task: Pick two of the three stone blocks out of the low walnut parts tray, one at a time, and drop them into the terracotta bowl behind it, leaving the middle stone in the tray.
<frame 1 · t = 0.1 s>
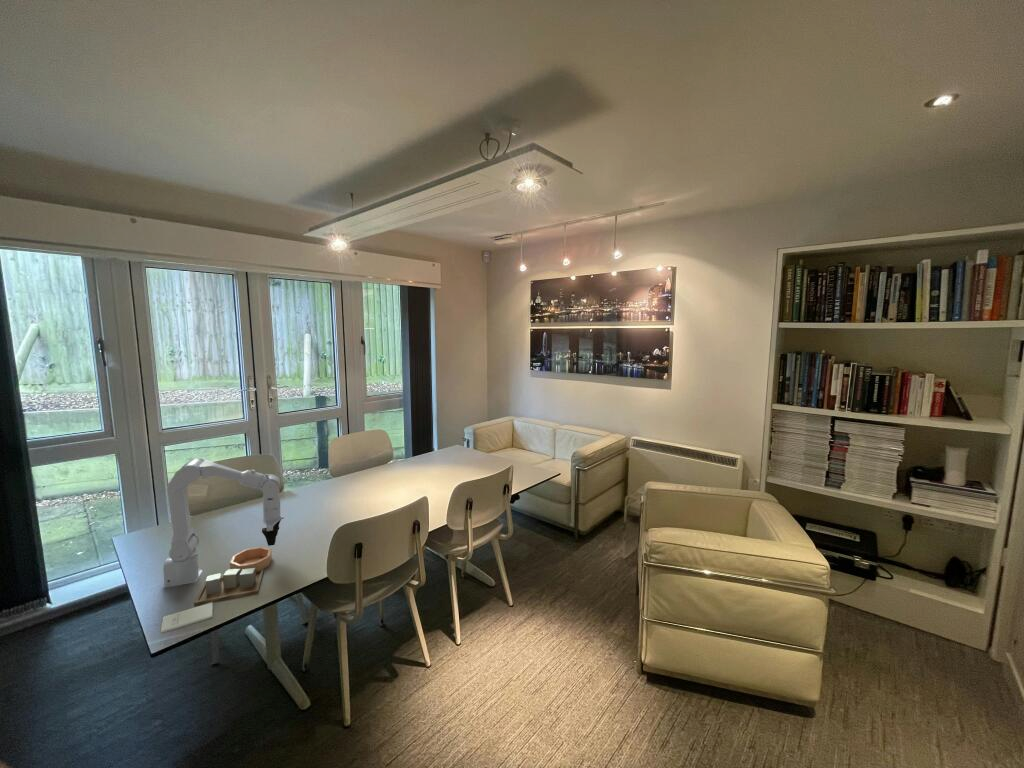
hand: (272, 540, 157), 10 cm above the table, fingers open, 7 cm apart
tray: (231, 588, 142), on the table
external hard drive: (188, 620, 127), on the table
stone b: (232, 584, 144), resting on tray
stone a: (214, 590, 140), resting on tray
stone c: (248, 584, 144), resting on tray
bowl: (251, 565, 157), on the table
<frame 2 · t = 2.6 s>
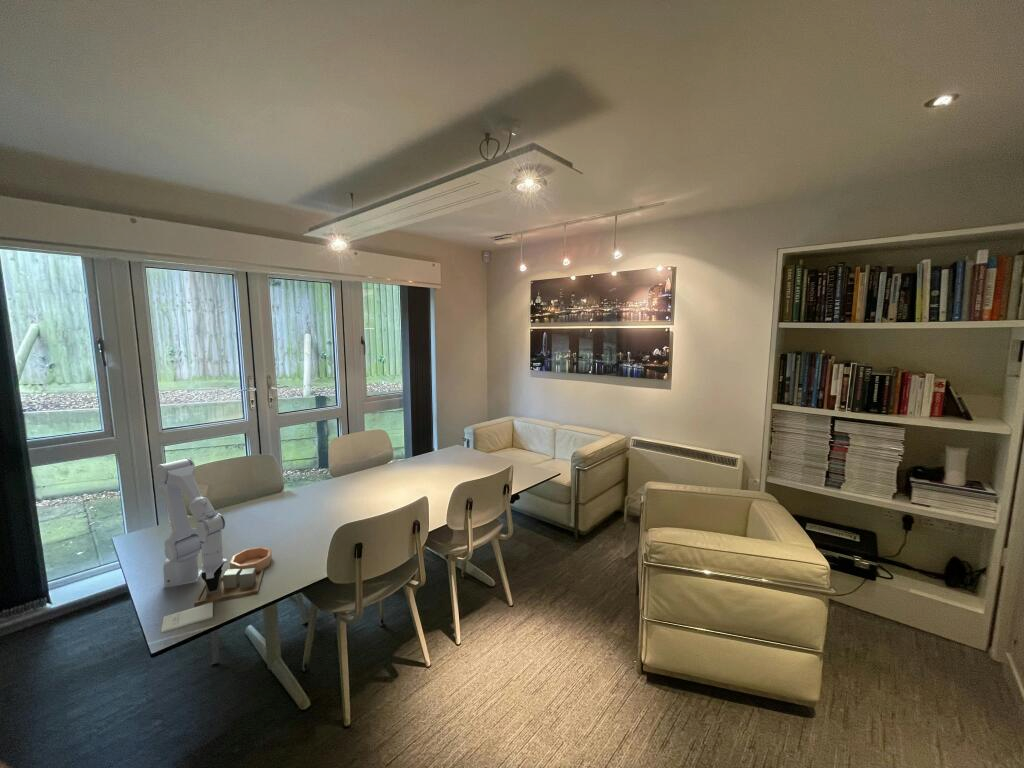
hand: (214, 587, 140), 2 cm above the table, fingers closed on stone a, 3 cm apart
stone a: (214, 590, 140), resting on tray, touching gripper
everything else where it was.
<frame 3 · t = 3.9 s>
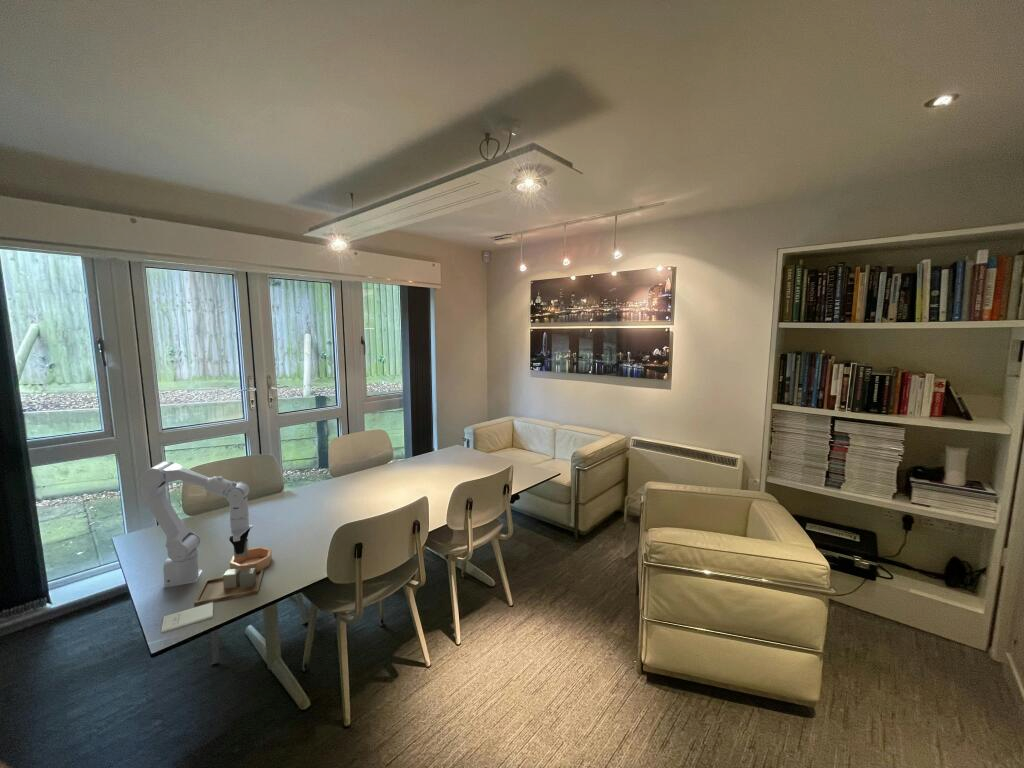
hand: (241, 550, 151), 9 cm above the table, fingers closed on stone a, 3 cm apart
stone a: (241, 554, 151), point 7 cm above the table, touching gripper
everything else where it was.
when the fingers open (5 cm above the table, at t = 5.5 s): stone a drops 3 cm, resting on bowl.
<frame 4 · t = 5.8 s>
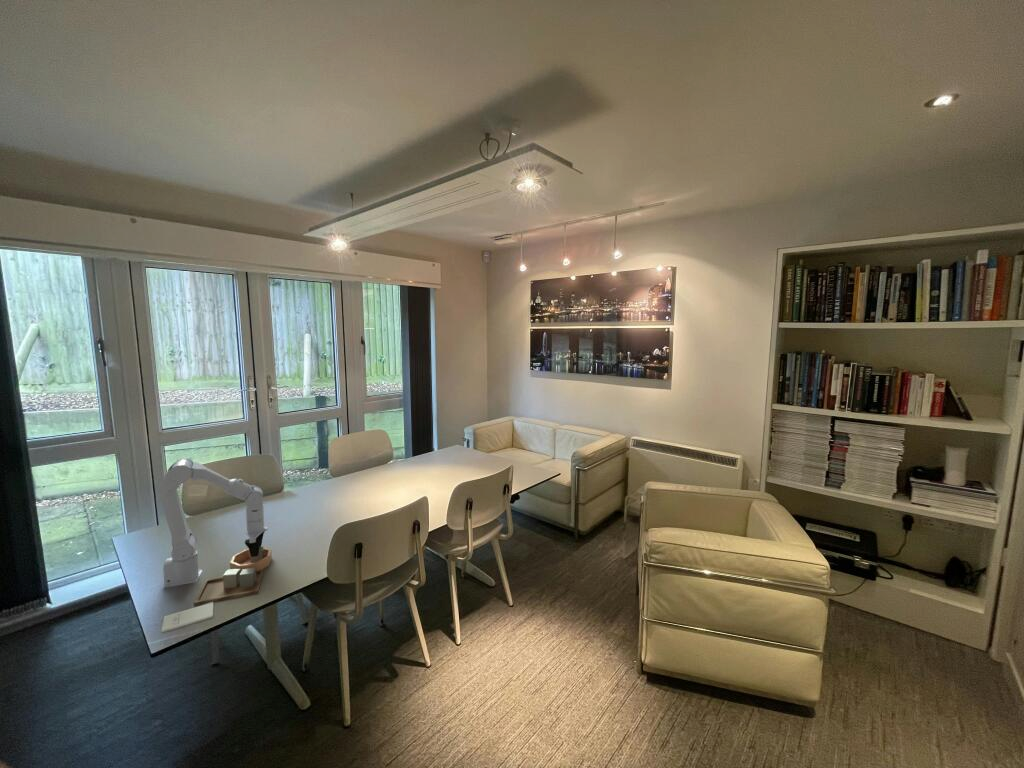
hand: (256, 551, 158), 5 cm above the table, fingers open, 6 cm apart
stone a: (257, 561, 159), resting on bowl
everything else where it was.
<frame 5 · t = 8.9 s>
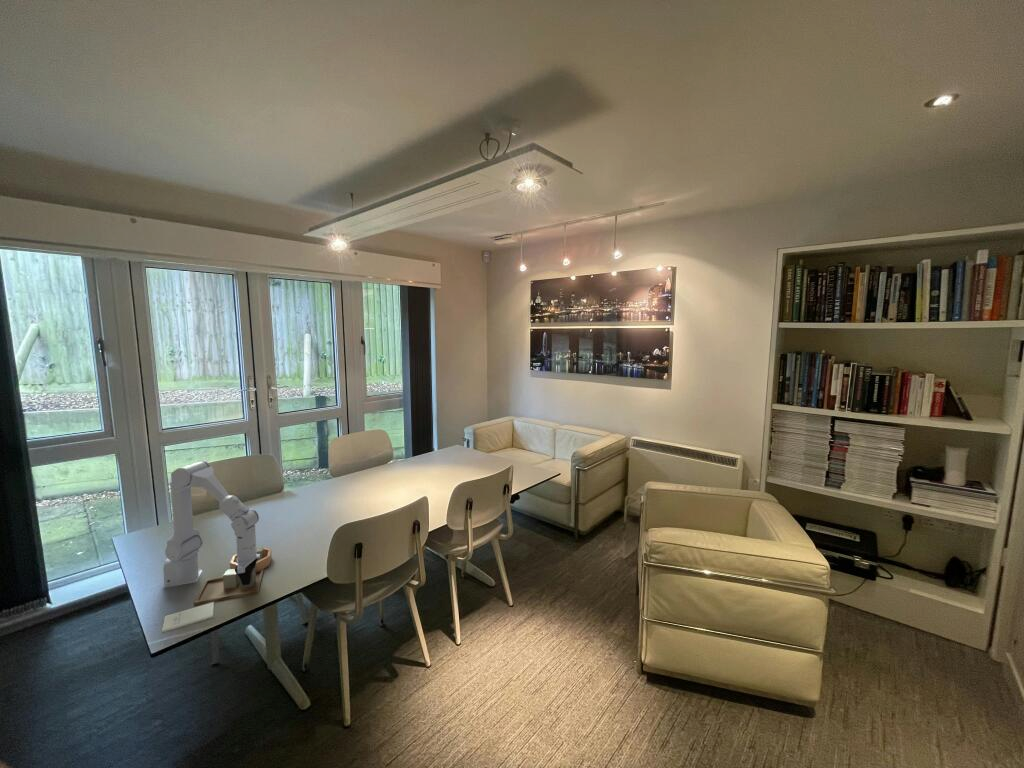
hand: (247, 580, 144), 2 cm above the table, fingers closed on stone c, 3 cm apart
stone c: (248, 584, 144), resting on tray, touching gripper
everything else where it was.
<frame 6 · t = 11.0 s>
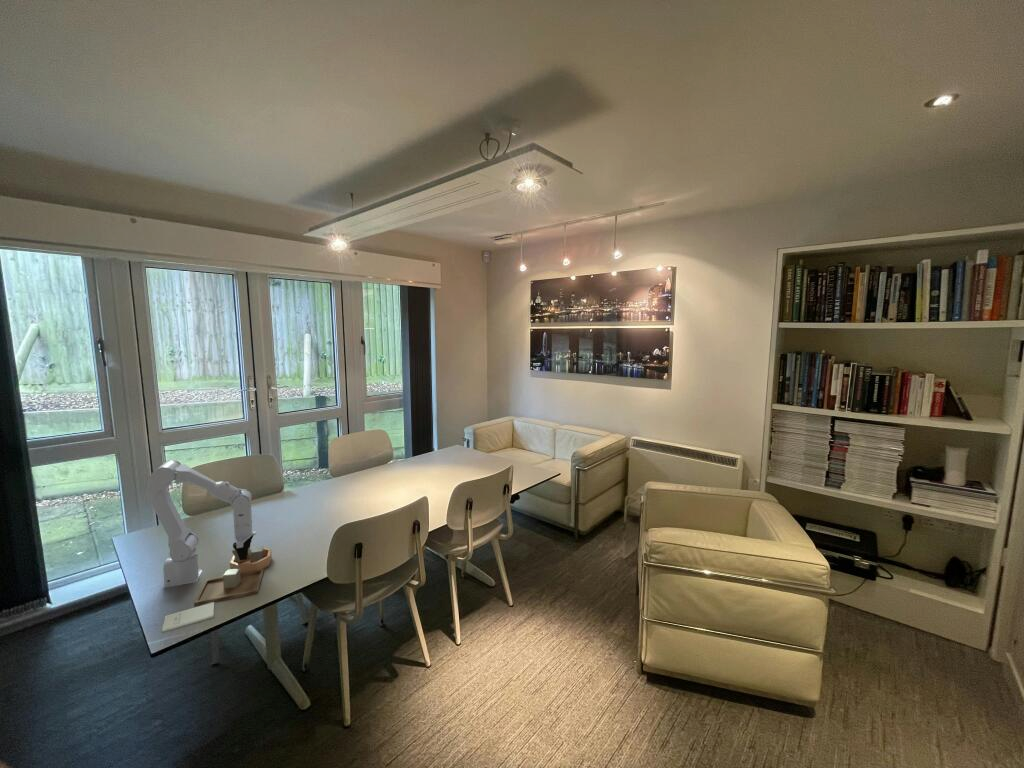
hand: (244, 556, 154), 5 cm above the table, fingers closed on stone c, 3 cm apart
stone a: (257, 561, 159), point 1 cm above the table, touching bowl, stone c
stone c: (245, 556, 154), point 5 cm above the table, tilted 23°, touching gripper, stone a
everything else where it was.
when the fingers open (5 cm above the table, at t = 11.4 s): stone c drops 1 cm and tips over, resting on bowl, stone a.
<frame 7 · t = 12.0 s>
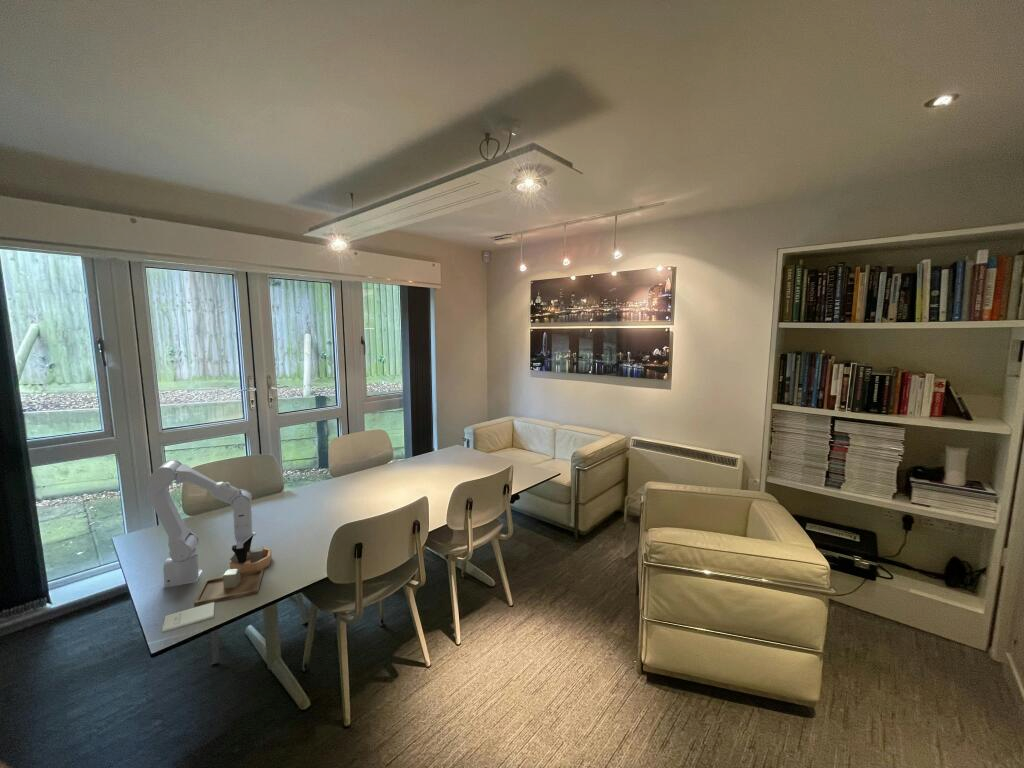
hand: (244, 557, 154), 5 cm above the table, fingers open, 7 cm apart
stone c: (246, 559, 155), point 4 cm above the table, tilted 50°, touching bowl, stone a
everything else where it was.
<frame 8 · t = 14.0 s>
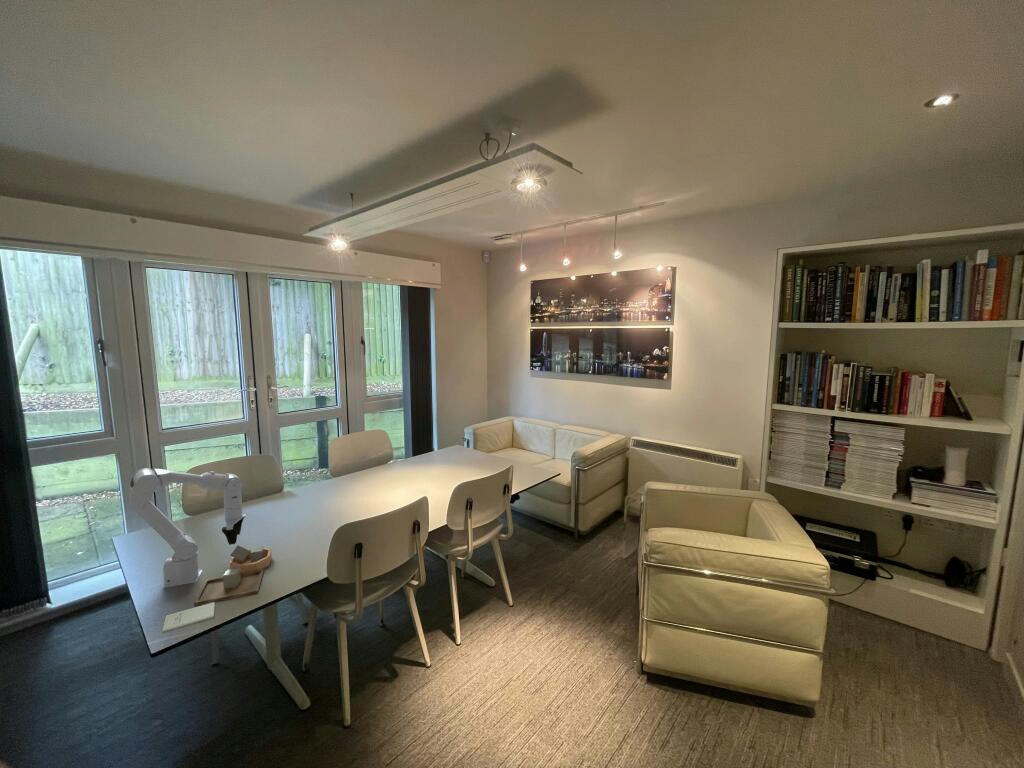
hand: (234, 539, 157), 10 cm above the table, fingers open, 7 cm apart
stone c: (246, 556, 155), point 4 cm above the table, tilted 59°, touching bowl, stone a
everything else where it was.
at the end: stone a inside the target area on the bowl (2.3 cm from its centre), point 0.5 cm above the bowl's base; stone c inside the target area on the bowl (1.4 cm from its centre), point 4.5 cm above the bowl's base; stone b moved 0.0 cm from its start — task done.
